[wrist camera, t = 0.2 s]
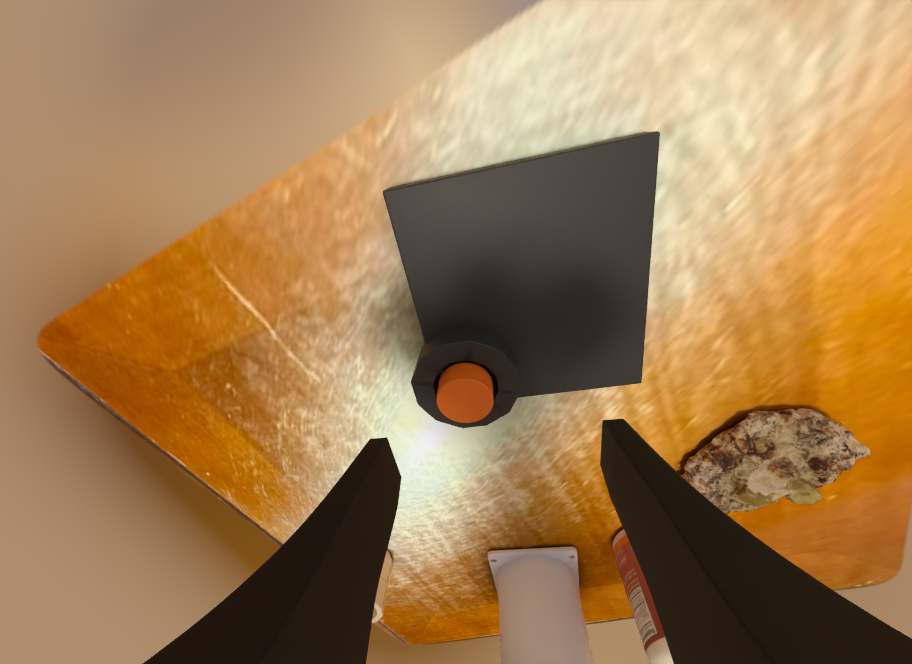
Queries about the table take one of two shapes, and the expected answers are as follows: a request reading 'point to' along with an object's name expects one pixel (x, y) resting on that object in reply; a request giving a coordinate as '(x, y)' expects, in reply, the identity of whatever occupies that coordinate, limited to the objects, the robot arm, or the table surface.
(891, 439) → the table surface
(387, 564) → the beige hollow cylinder
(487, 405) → the button
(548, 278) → the scale
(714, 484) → the mineral rock
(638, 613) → the pill bottle
